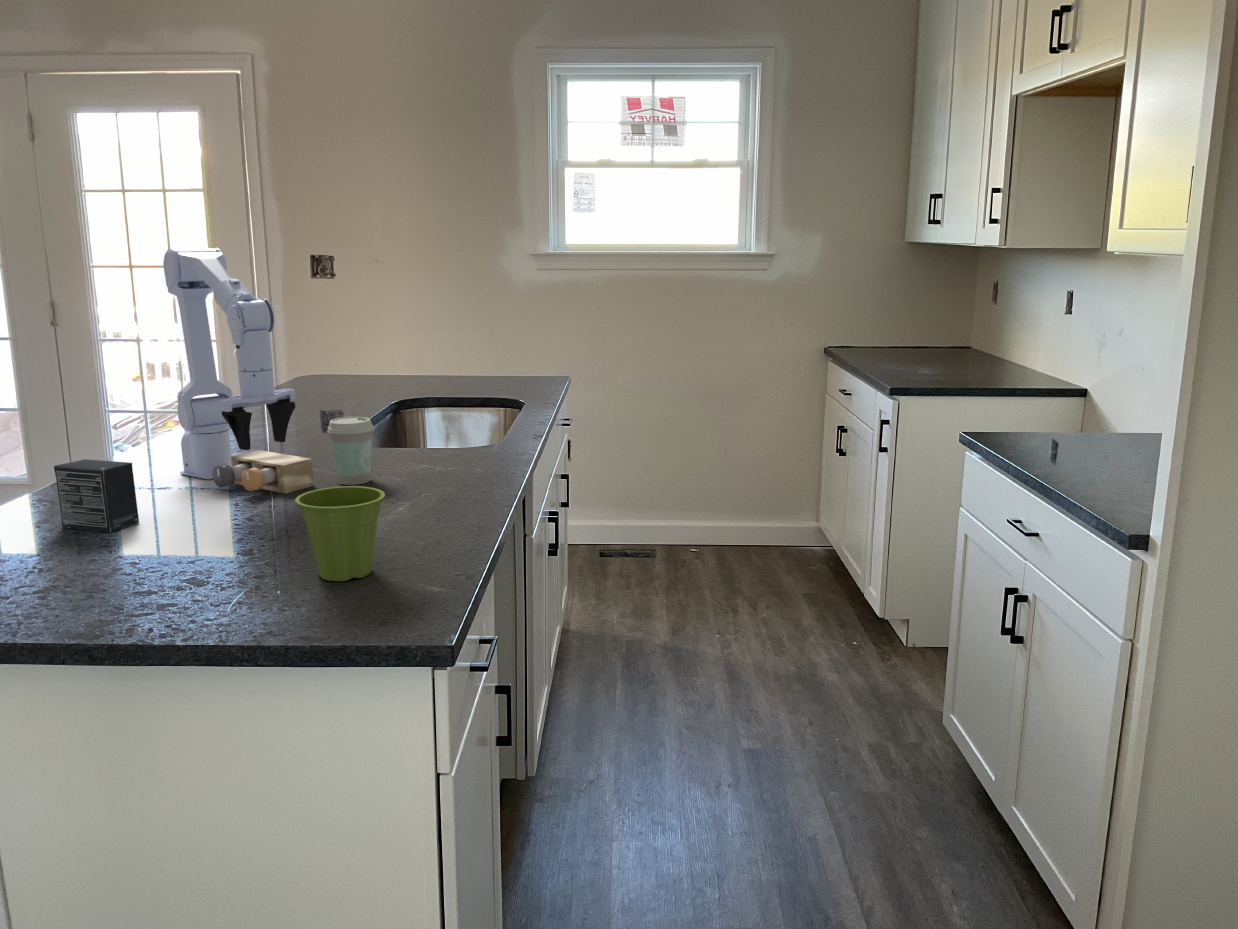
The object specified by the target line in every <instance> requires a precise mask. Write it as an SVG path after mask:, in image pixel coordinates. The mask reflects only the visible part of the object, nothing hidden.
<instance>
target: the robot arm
mask: <svg viewBox="0 0 1238 929" xmlns="http://www.w3.org/2000/svg"><path fill="white" fill-rule="evenodd" d="M226 260H227V259H226V257H225V254H224V252H222V251H221V249H220V248H218V247H213V248H177V249H176V248H175V249H174V248H168V249H166V252H165V253H164V256H163V262H162V263H163V264H162V265H163V267H162V268H163V272H164V278H165V284H166V287H167V291H168V294H171V295H173V296H175V297H176V299H177V303H178V309H179V314H180V320H181V327H182V335H183V340H184V341H183V342H184V347H185V353H186V359H187V366H188V373H189V380H190V381H189V382H187V384H186V385H185V386H184V387H183V388H181V389H180V391H178V393H177V398H176V399H177V410H176V411H177V417H178V422H179V423H180V426H181V428H182V429H184V430H185V432H184V433H183V435H182V437H181V441H180V446H181V447H180V448H181V455H182V456H181V457H182V464H183V470H182V471H180V475H185V476H189V477H194V478H200V479H204V480H213V476H212V472H213V469H214V468H215V467H216V466H221V465H225V464H227V465H229V466H230V467H231V466H232V464H231V456H233V454H232V442H231V435H230V433H231V432H232V433H233V435H234V438H235V440H236V444H237V446H238V449H239V450H242V451H249V450H251V445H252V444H251V433H250V430H251V421H252V415H253V412H249V411H247V410H246V409H247V408H253V407H259V406H263V405H265V406H266V408H267V411H268V414H269V418H270V423H271V427H272V436H273V440H274V442H278V443H285V442H286V438H287V431H288V427H289V424H290V423H289V422H290V420H291V418H292V415H293V413H294V410H296V402H295V400H296V396H295V395H296V393H295V389H294V388H283V389H281V388H280V389H275V381H274V369H273V357H272V344H271V337H270V336H271V334H270V333H271V332H272V331H273V330H274V327H275V312H274V310H273V307H272V306H273V305H272V304H271V302H269V299H267V298H256V297H255V296H254V294H253V293H252V292H251V291H250V290H249V289H248V288H247V287H246V286H245V284H244V283H243V282H242V281H241V280H240V279H239V278H231V276H230V274H229V273H228V272H227V271H228V270H227V267H228V266H227V261H226ZM212 293H213V299H214V302H215V303H216V304H217V305H218V306H219V308H220V309H221V310H222V311H223V313H224V314H225V315H226V320H227V326H228V328H229V330H230V334H231V341H232V343H233V345H235V351H236V352H235V353H236V362H237V371H238V372H237V373H238V383H239V393H240V394H237V395H234V394H233V391H232V389H231V387H230V386H229V385H227V384H225V383H223V382H222V381H220V380H218V376H217V370H216V361H215V356H214V349H213V343H212V337H211V329H210V322H209V318H208V317H209V316H208V315H209V314H208V310H207V301H206V300H207V297H208V296H209V295H210V294H212ZM206 395H212V396H206ZM213 395H214V396H213ZM233 395H234V396H233ZM198 396H202V397H198ZM203 396H204V397H203ZM194 397H196V398H194ZM230 430H231V432H230Z"/></svg>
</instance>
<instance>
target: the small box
mask: <svg viewBox="0 0 1238 929" xmlns="http://www.w3.org/2000/svg"><path fill="white" fill-rule="evenodd" d="M53 469H54V475H55V479H56V485H57V488H56V489H57V494H58V502H59V509H60V515H61V516H60V517H61V518H60V519H61V526H62V528H63V527H70V528H69V529H71V528H79V529H78V530H81V529H88V530H87V531H90V530H95V531H94V532H99V531H104V532H103V533H108V532H110V533H113V532H116V531H118V530H122V529H124V527H125V528H128V527H130V525H131V526H134V525H136V524H139V523H140V519H139V510H138V504H137V502H138V501H137V494H136V488H135V486H136V485H135V479H134V477H135V476H134V470H133V462H128V461H127V462H126V461H125V462H124V461H114V460H113V461H112V460H111V461H110V460H101V459H100V460H99V459H87V458H86V459H81V460H74V461H71V462H67V463H62V464H56V465H54V466H53ZM127 526H128V527H127ZM121 528H122V529H121Z"/></svg>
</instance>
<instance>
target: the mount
mask: <svg viewBox="0 0 1238 929" xmlns="http://www.w3.org/2000/svg"><path fill="white" fill-rule="evenodd" d="M312 461H313V460H312V458H311V457H310V458H309V457H304V456H299V455H298V456H297V455H292V454H285V453H279V452H273V451H272V452H271V451H266V450H260V449H258V450H254V451H250V452H246V453H245V452H244V453H240V454H236V455H232V456H231V464H232V466H235V465H239V464H244V463H248V462H250V463H252V468H258V469H259V470H261V469H265V468H269V467H273V466H274V467H276V469H277V480H278V481H276V482H272V483H268V484H264V485H263V487H262V488H261V489H262V490H266V491H270V492H276V493H281V494H289V493H293V492H296V491H299V490H304V489H308V488H312V487H314V473H313V472H314V471H313V462H312ZM233 484H234V485H235V484H236V485H240V486H243V484H242V479H241V480H237V481H234V483H233ZM261 489H260V490H261Z"/></svg>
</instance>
